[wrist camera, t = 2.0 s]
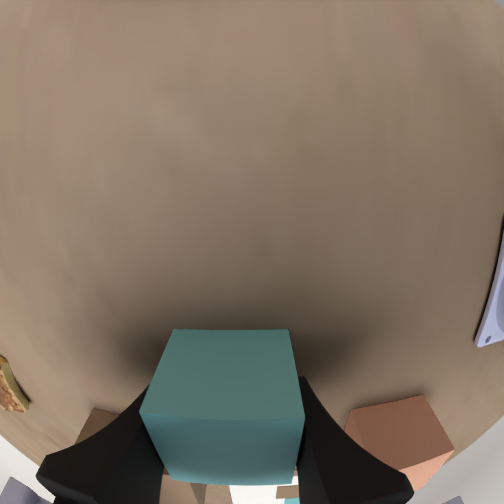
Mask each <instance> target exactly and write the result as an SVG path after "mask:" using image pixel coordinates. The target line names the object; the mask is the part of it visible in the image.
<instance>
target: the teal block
mask: <svg viewBox="0 0 504 504" xmlns="http://www.w3.org/2000/svg"><path fill="white" fill-rule="evenodd" d="M139 413H140V415H141V417H142V420H143V422H144V424H145V426H146V429H147V431H148V433H149V435H150V437H151V440H152V442H153V444H154V446H155V448H156V450H157V452H158V454H159V456H160V458H161V460H162V462H163V464H164V466H165V467H166V469H167V471H168V473H169V475H170V477H171V478H172V480H176V481H184V482H192V483H202V484H215V485H239V486H260V485H284V484H292V479H293V475H294V471H295V466H296V462H297V457H298V452H299V447H300V442H301V437H302V432H303V426H304V421H305V414H304V409H303V403H302V398H301V392H300V387H299V382H298V376H297V371H296V366H295V361H294V356H293V351H292V345H291V340H290V335H289V330H288V329H273V330H195V329H173V331H172V334H171V336H170V338H169V341H168V343H167V345H166V348H165V350H164V352H163V355H162V357H161V359H160V362H159V364H158V366H157V369H156V371H155V374H154V376H153V378H152V381H151V383H150V386H149V388H148V391H147V393H146V396H145V398H144V401H143V403H142V406H141V408H140V411H139Z"/></svg>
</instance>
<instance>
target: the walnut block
mask: <svg viewBox="0 0 504 504" xmlns="http://www.w3.org/2000/svg"><path fill="white" fill-rule="evenodd" d="M119 415H120V414H115V413H111V412H107V411H103V410H99V409H95V408H93V410H92V412H91V413H90V415H89V417H88V419H87V421H86V423H85V425H84V427H83V429H82V430H81V432H80V434H79V436H78V438H77V440H76V442H75V444H77V443H79V442H81V441H83V440H85V439H87V438H88V437H90V436H92V435H93V434H95V433H97V432H98V431H100V430H101V429H103V428H104V427H105V426H107V425H108V424H109V423H111V422H112V421H113V420H114V419H116V418H117V417H118V416H119ZM75 444H74V445H75ZM205 493H206V484H202V483H192V482H184V481H176V480H172V478H171V477H170V475H169V473H168V471H167V469H166V467H165V466H164V471H163V477H162V484H161V492H160V502H159V504H204V501H205Z"/></svg>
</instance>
